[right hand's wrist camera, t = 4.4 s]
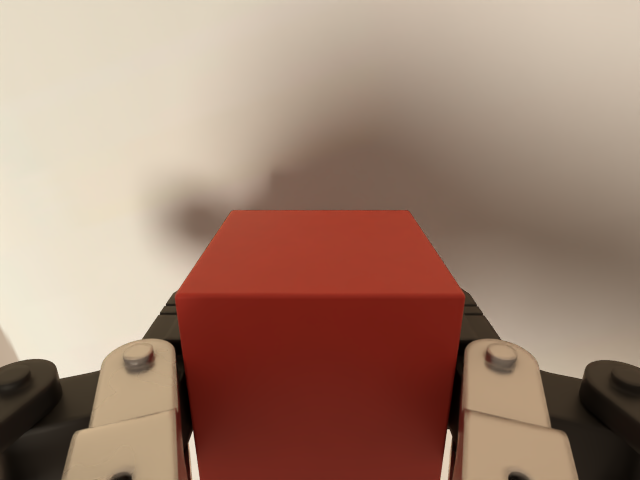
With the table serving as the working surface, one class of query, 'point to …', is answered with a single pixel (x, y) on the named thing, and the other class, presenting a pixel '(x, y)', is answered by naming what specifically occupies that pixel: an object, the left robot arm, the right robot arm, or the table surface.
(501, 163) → the table surface
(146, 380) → the right robot arm
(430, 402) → the block
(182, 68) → the table surface
